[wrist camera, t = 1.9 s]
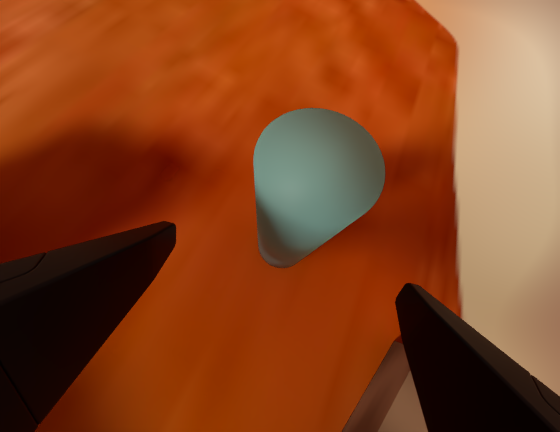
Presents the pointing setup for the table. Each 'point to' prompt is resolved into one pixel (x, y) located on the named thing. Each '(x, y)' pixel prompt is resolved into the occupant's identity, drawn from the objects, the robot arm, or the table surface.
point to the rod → (312, 181)
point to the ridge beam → (389, 399)
